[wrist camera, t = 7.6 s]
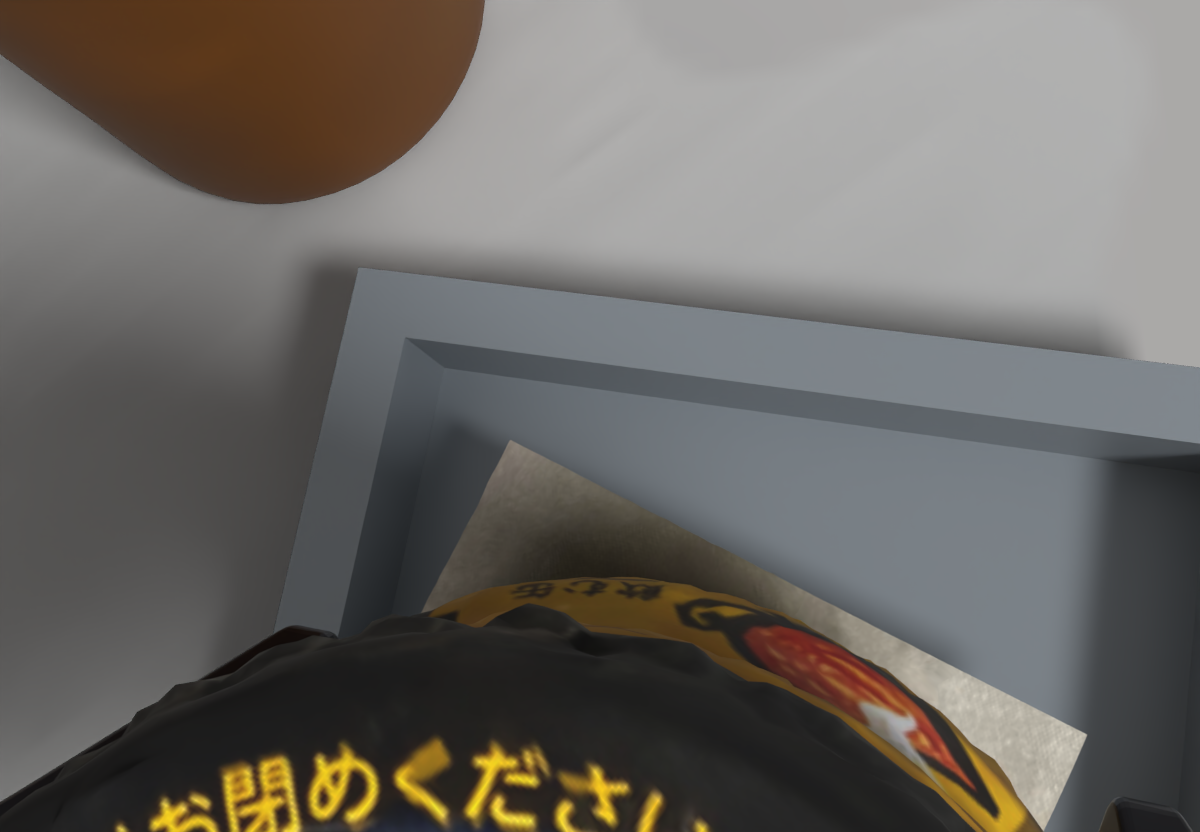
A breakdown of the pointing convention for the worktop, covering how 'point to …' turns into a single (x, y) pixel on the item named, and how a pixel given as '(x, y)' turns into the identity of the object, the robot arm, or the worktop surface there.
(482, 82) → the worktop surface
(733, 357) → the grey shallow square tray
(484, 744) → the condiment
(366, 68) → the mug
